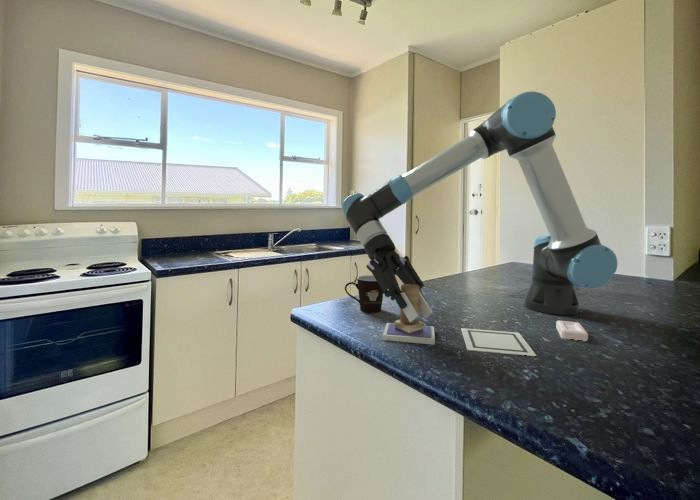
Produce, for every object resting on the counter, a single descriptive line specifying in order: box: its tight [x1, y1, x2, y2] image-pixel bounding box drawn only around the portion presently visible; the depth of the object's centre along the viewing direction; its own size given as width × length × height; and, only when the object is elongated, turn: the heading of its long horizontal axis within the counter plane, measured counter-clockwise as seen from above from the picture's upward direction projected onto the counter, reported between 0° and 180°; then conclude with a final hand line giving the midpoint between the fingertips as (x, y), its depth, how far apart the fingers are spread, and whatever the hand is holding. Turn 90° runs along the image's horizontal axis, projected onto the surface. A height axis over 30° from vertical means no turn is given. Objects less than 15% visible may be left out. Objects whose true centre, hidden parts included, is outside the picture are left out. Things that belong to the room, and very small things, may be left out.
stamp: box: [393, 283, 425, 335], centre depth 83 cm, size 5×5×11 cm
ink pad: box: [382, 322, 436, 346], centre depth 84 cm, size 12×9×1 cm
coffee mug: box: [344, 274, 384, 314], centre depth 105 cm, size 12×9×10 cm
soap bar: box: [555, 320, 589, 342], centre depth 86 cm, size 5×9×2 cm, turn 157°
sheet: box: [460, 327, 537, 357], centre depth 81 cm, size 14×14×1 cm
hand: (421, 317), depth 80 cm, fingers closed on stamp, 4 cm apart
